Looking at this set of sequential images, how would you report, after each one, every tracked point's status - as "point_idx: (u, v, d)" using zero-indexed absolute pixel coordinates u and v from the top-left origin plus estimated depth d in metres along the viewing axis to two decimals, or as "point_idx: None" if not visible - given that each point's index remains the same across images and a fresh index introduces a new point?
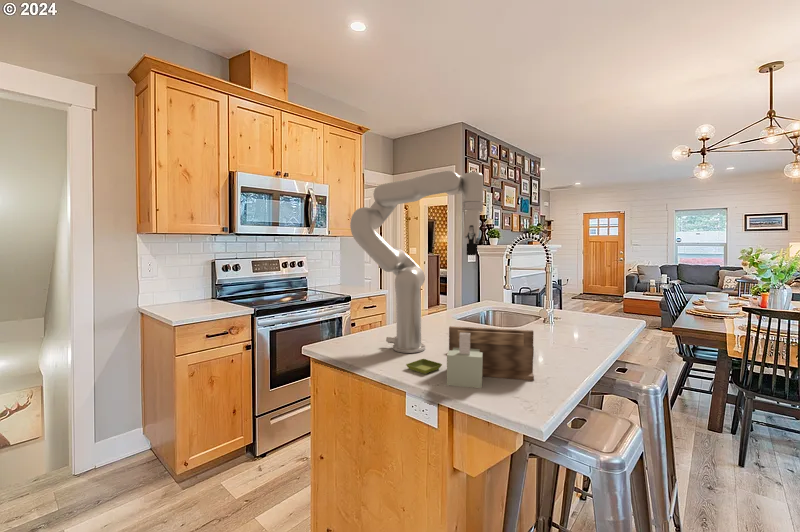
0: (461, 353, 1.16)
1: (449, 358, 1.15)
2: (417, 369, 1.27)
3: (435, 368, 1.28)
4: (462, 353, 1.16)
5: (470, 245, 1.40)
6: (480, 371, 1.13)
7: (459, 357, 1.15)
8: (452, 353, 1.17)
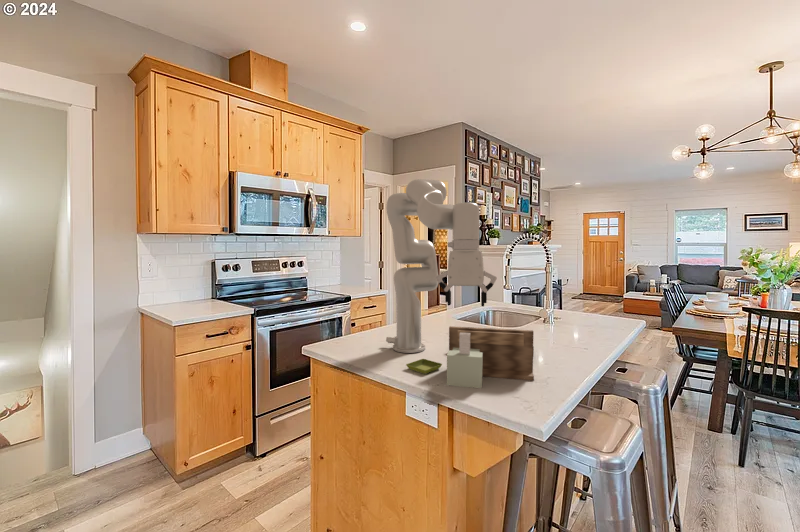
0: (461, 353, 1.16)
1: (449, 358, 1.15)
2: (417, 369, 1.27)
3: (435, 368, 1.28)
4: (462, 353, 1.16)
5: None
6: (480, 371, 1.13)
7: (459, 357, 1.15)
8: (452, 353, 1.17)
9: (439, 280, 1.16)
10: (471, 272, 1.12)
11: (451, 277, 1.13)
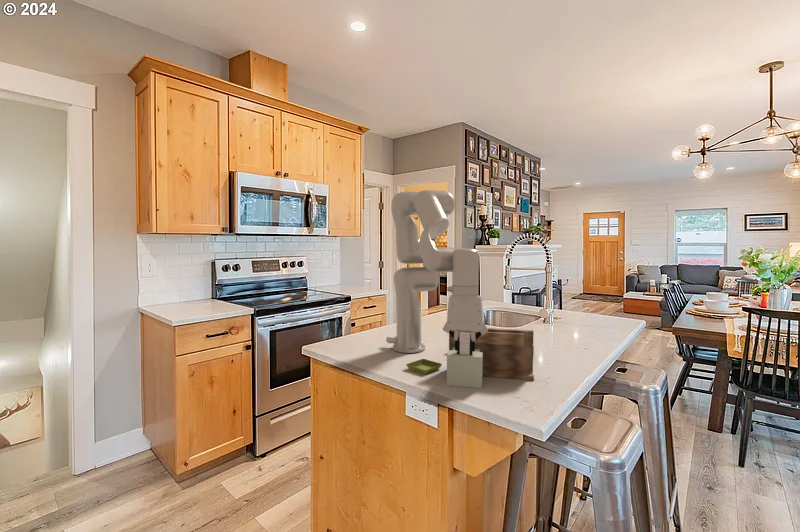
0: (461, 353, 1.16)
1: (449, 358, 1.15)
2: (417, 369, 1.27)
3: (435, 368, 1.28)
4: (462, 353, 1.16)
5: (474, 342, 1.15)
6: (480, 371, 1.13)
7: (459, 357, 1.15)
8: (452, 353, 1.17)
9: (447, 330, 1.17)
10: (470, 318, 1.13)
11: (450, 322, 1.14)
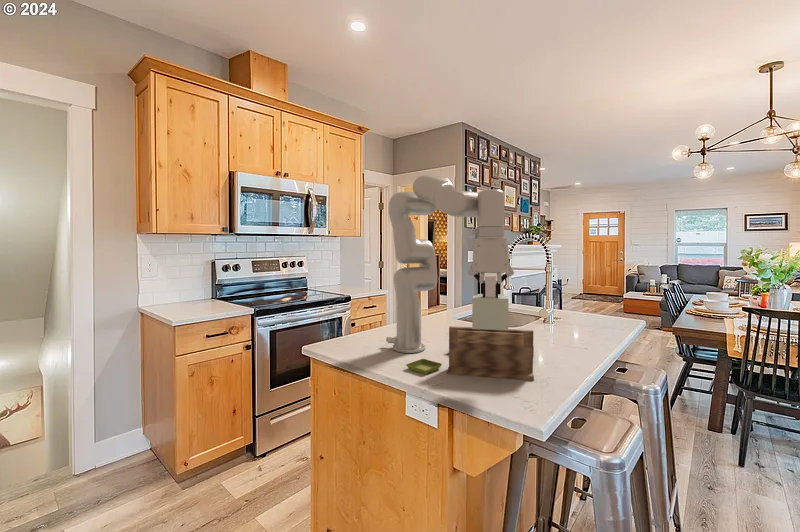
0: (487, 296, 1.14)
1: (475, 300, 1.14)
2: (417, 369, 1.27)
3: (435, 368, 1.28)
4: (488, 296, 1.14)
5: (500, 285, 1.14)
6: (506, 313, 1.12)
7: (485, 299, 1.13)
8: (477, 296, 1.16)
9: (472, 273, 1.16)
10: (497, 259, 1.12)
11: (476, 264, 1.13)
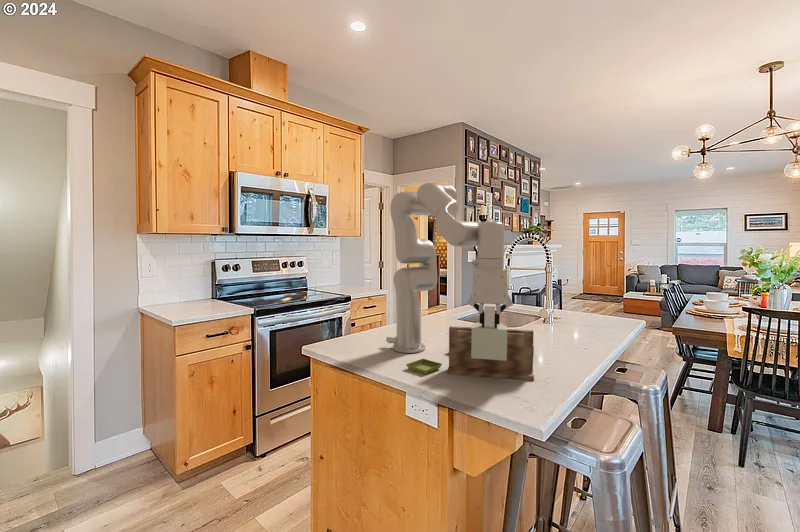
0: (486, 326, 1.16)
1: (474, 330, 1.16)
2: (417, 369, 1.27)
3: (435, 368, 1.28)
4: (487, 326, 1.16)
5: (499, 315, 1.16)
6: (505, 343, 1.14)
7: (484, 330, 1.15)
8: (476, 326, 1.18)
9: (472, 303, 1.17)
10: (496, 290, 1.13)
11: (476, 295, 1.15)
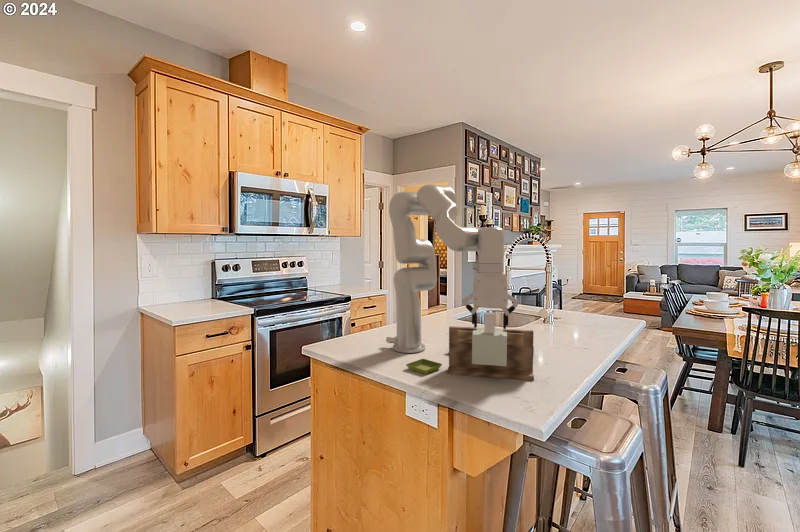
0: (486, 332, 1.18)
1: (474, 337, 1.18)
2: (417, 369, 1.27)
3: (435, 368, 1.28)
4: (487, 332, 1.18)
5: None
6: (505, 349, 1.16)
7: (484, 336, 1.17)
8: (477, 332, 1.20)
9: (466, 303, 1.20)
10: (496, 295, 1.15)
11: (476, 299, 1.17)
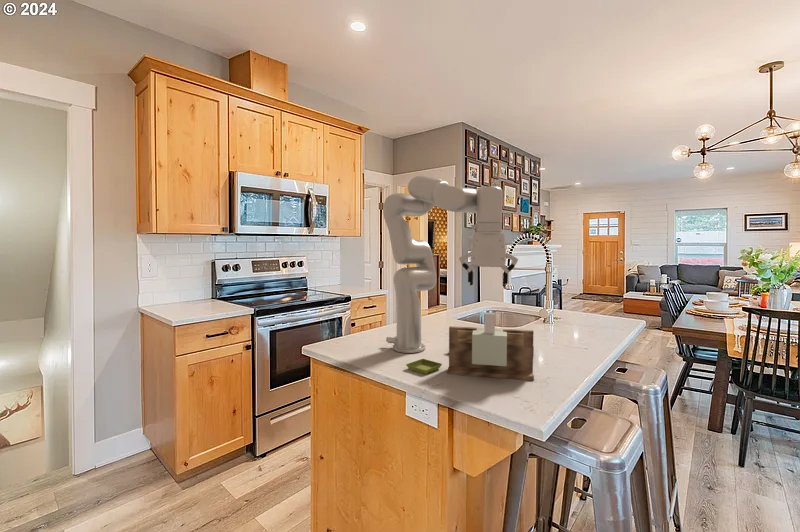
0: (486, 332, 1.18)
1: (474, 337, 1.18)
2: (417, 369, 1.27)
3: (435, 368, 1.28)
4: (487, 332, 1.18)
5: (507, 274, 1.19)
6: (505, 349, 1.16)
7: (484, 336, 1.17)
8: (477, 332, 1.20)
9: (462, 261, 1.21)
10: (494, 253, 1.17)
11: (474, 258, 1.18)
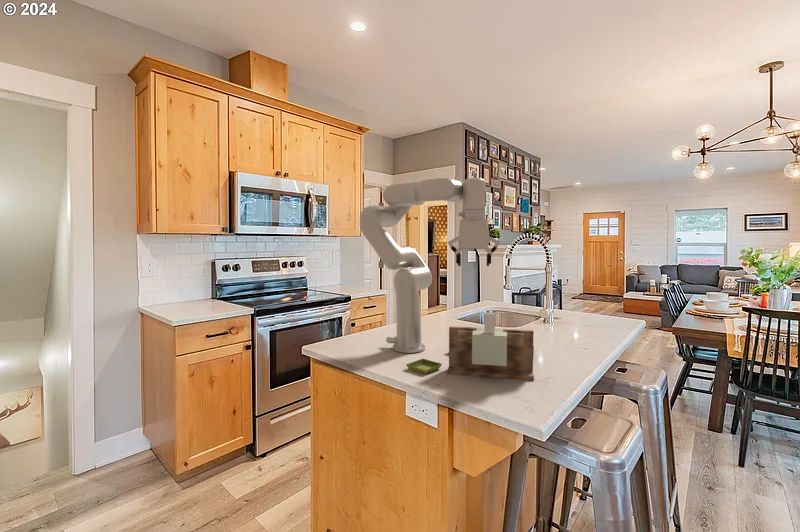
0: (486, 332, 1.18)
1: (474, 337, 1.18)
2: (417, 369, 1.27)
3: (435, 368, 1.28)
4: (487, 332, 1.18)
5: None
6: (505, 349, 1.16)
7: (484, 336, 1.17)
8: (477, 332, 1.20)
9: (451, 244, 1.37)
10: (478, 237, 1.32)
11: (461, 241, 1.34)
